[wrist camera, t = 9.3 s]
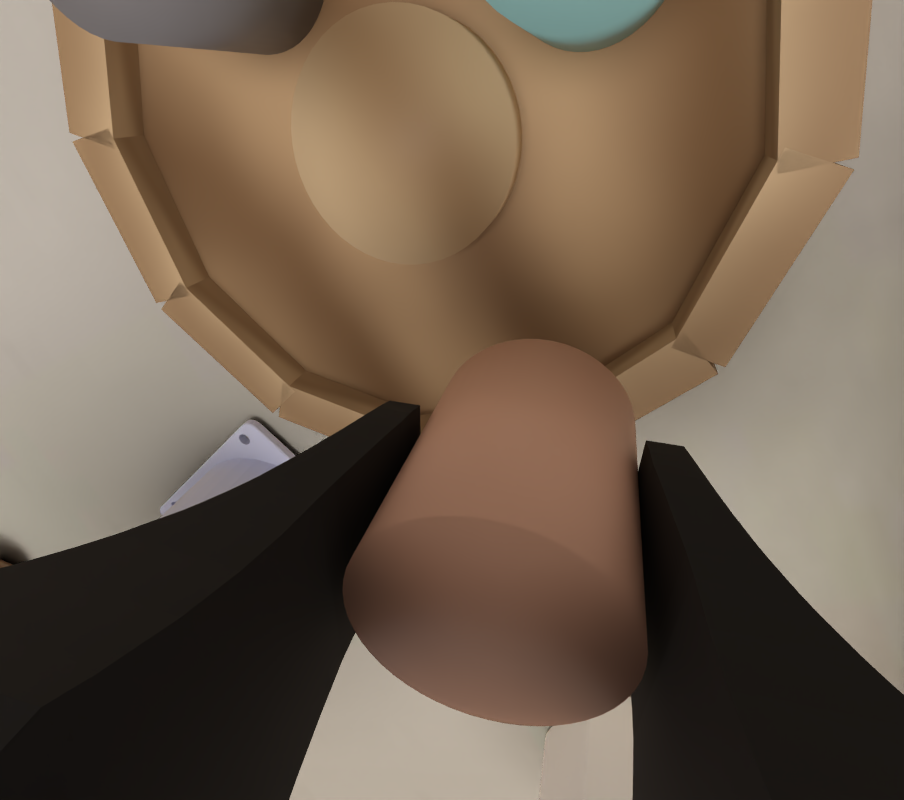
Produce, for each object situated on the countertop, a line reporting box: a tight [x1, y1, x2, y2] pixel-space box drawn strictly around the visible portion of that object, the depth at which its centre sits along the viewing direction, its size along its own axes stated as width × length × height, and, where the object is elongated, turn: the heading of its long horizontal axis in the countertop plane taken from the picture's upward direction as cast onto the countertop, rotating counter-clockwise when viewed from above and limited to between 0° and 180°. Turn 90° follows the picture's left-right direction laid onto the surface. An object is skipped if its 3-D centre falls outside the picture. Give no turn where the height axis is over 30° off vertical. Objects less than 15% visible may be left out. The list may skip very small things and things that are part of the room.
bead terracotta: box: [343, 339, 648, 726], centre depth 9 cm, size 4×4×5 cm
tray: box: [52, 0, 872, 436], centre depth 14 cm, size 20×20×2 cm
